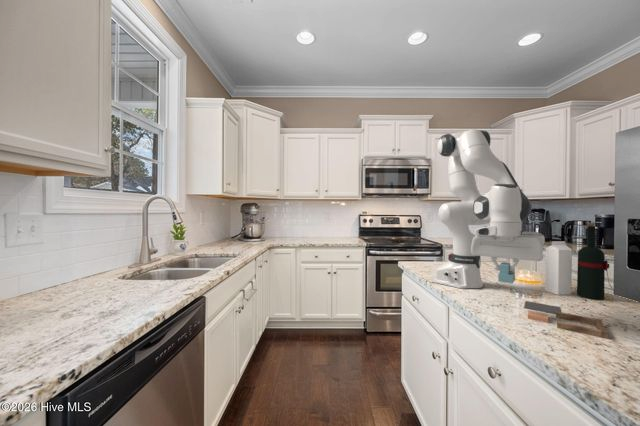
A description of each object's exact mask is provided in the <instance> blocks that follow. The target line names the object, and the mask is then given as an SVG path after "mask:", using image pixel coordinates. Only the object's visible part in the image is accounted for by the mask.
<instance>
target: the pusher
mask: <svg viewBox="0 0 640 426" xmlns="http://www.w3.org/2000/svg"><path fill="white" fill-rule="evenodd" d="M499 265H500V271H499V272H498V274H497V275H498V276H497V277H498V279H497V280H498V282H501V283H507V284H514V282H515V280H516V272H509V266H511V263H510V262H500V264H499Z"/></svg>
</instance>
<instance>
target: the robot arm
mask: <svg viewBox="0 0 640 426" xmlns="http://www.w3.org/2000/svg"><path fill="white" fill-rule="evenodd" d="M491 141H492V140H491V134H490V133H489V132H488V131H487V130H481V129H475V128H472V129H468V130H463V131H459V132H454V133H446V134H443V135H441V137H439V138H438V142H437V150H438V153H439V154H440V156H442V157H447V158H448V157H449V159H448V165H447V170H448V171H447V173H448V183H449V189H450V192H451V194H452V195H454V196H456V197H457V198H459V200H460V201H450V202H445V203H442V204H441V205H440V207H439V209H438V213H437V215H438V216H437V217H438V218H439V220H440V222H441V223H443V224H444V226H446V227H447V228H448V230H449V232H450V235H451V238H452V252H450V253H449V254H448V255H447V259H448V260H446V262H444V263H443V264H441V265H439V266H438V267H437V268H436V270H435V274H434V275H433V276H431V277H430V278H429V279H430V280H429V281H430V282H431V283H435V284H440V285H443V286H444V285H445V286H449V287H452V288H457V289H463V290H464V289H481V288H483V287H484V284H483V280H482V277H481V266H482V265H481V264H482V263H481V262H482V259H481V257H490V258H491V261H492V263H493V264H494V266H495V271H499V272H500V264H499V263H498V262H497V260H498V258H502V259H511V260H512V262H513V265H510V266H509V272H515V270H516V267H517V265H518V264H519V262H520V260H521V261H522V260H524V261H534V262H541V261H543V260H544V250H543V246H544V245H545V243H546V237H545V236H544V234H542V233H540V232H538V231H523V230H522V222H523V221H525V220H526V219H527V218H528V217H529V216H530V214H531V213H532V210H533V207H532V202H531V201H530V199H529V198H528V196H527V195H526V194H524V192H523V191H522V189H521V188H520V186H519V185H518V182H517V181H516V179H515V177H514V176H513V174H512V172H511V170H510V169H509V168H508V166H507V164H506V163H504V162H503V161H501V160H500V159H499V158H498V157H497V156H496V155H495V154H494V152H493V151H492V149H491V147H490V146H491ZM475 175H478V176H481V177H485V178H488V179H490V180H493V181H495V184H493V185H492V186H491V188H490V190H489V191H488V192H486V193H485V194H482V195H481V193H480V191H479V190H478V186H477V182H476V178H475V177H476V176H475ZM486 224H489V225H486ZM482 225H485V226H482ZM469 226H482V227H479V228H476V229H475V230H474V233H473V232H471V230H470V227H469ZM515 273H516V272H515Z"/></svg>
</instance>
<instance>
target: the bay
mask: <svg viewBox="0 0 640 426" xmlns="http://www.w3.org/2000/svg"><path fill="white" fill-rule="evenodd" d="M555 318H557V319H562V320H566V321H570V322H577V323H582V324H587V325H592V326H595V327H596V328H591V327H587V326H583V325H577V324H572V323H568V322H562V321H558V320H557V321H556V329H560V330H565V331H569V332H572V333H573V332H574V333H578V334H583V335H587V336H592V337H596V338H600V339H605V340H608V335H609V334H608V333H609V332H608V331H607V329H606V327H605V325H604V323H603V321H602V319H600V318H599V319H598V318H594V317H593V318H592V317H587V316H583V315H577V314H572V313H567V312H566V313H565V312H562V311H561V312H556V314H555Z"/></svg>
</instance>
